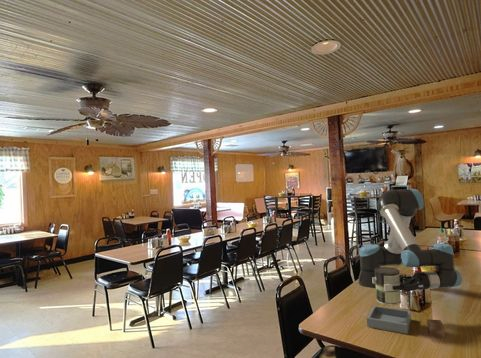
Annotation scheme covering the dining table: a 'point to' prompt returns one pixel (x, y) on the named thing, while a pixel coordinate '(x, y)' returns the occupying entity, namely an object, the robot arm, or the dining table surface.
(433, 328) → the walnut block
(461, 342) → the dining table surface
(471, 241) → the dining table surface
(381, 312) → the tray
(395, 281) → the coffee can
